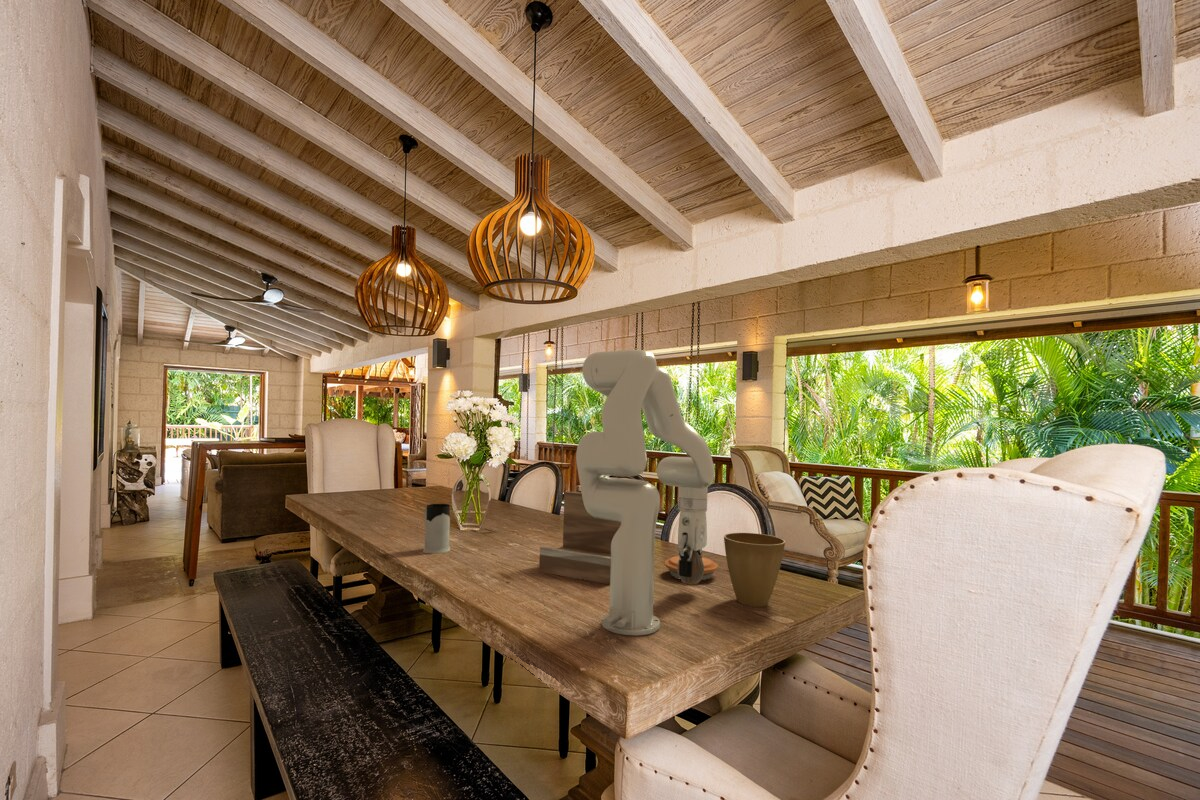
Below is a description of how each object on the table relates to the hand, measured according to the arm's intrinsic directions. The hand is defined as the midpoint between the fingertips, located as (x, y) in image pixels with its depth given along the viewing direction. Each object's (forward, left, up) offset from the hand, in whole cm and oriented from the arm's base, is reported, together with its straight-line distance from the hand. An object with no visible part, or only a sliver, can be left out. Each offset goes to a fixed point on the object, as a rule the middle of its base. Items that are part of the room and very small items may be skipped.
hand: (690, 573), depth 146 cm
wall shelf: (+2, +33, -5) cm, 33 cm away
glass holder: (-1, +91, -6) cm, 91 cm away
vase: (0, 0, -3) cm, 3 cm away
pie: (+17, +6, -6) cm, 19 cm away
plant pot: (+2, -16, -6) cm, 17 cm away
